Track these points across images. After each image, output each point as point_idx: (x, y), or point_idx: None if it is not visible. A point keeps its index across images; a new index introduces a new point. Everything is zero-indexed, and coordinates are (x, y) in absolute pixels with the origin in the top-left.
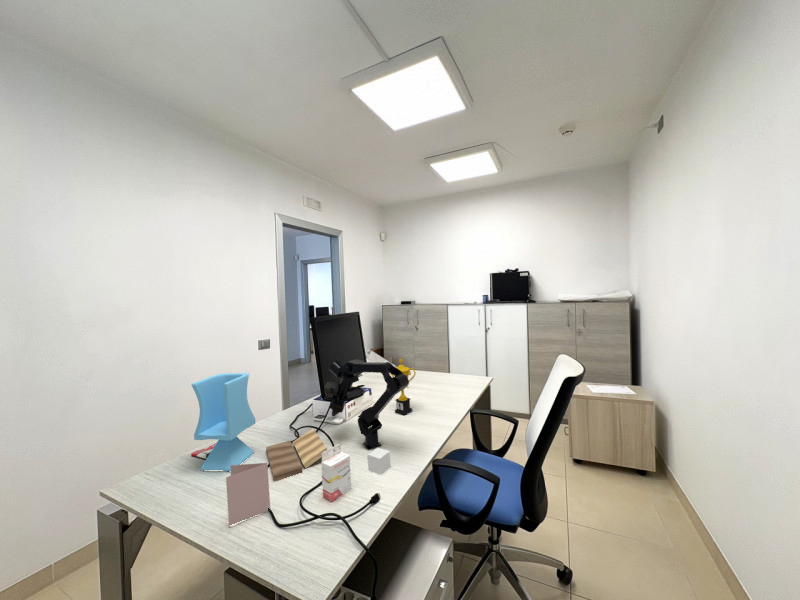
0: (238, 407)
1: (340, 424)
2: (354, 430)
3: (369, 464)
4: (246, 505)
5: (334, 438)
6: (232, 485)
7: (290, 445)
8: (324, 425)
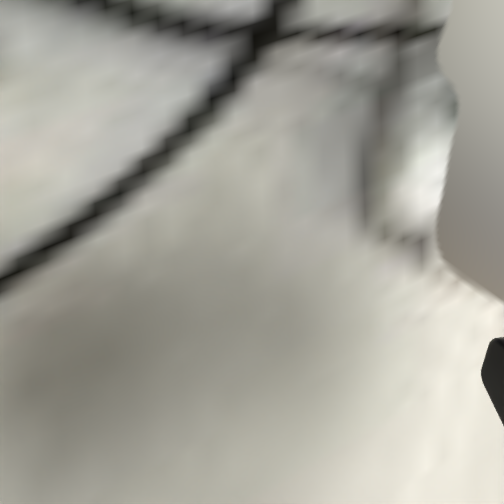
0: None
1: (361, 237)
2: (248, 441)
3: None
4: None
5: (44, 310)
6: None
7: None
8: (336, 75)
